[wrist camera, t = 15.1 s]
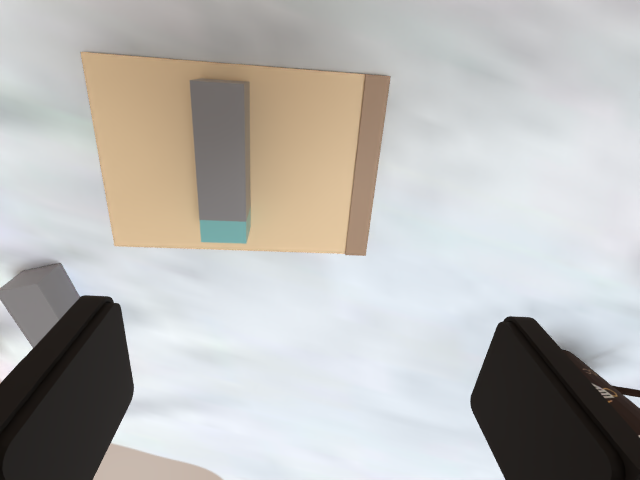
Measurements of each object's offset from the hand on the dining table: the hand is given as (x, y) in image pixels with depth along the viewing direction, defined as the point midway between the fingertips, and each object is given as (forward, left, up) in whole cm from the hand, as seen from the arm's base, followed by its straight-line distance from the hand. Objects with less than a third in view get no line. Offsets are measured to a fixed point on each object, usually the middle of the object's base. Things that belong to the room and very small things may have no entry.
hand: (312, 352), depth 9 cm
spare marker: (+14, -18, -19) cm, 30 cm away
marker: (0, -5, -19) cm, 19 cm away
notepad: (0, -4, -19) cm, 19 cm away
